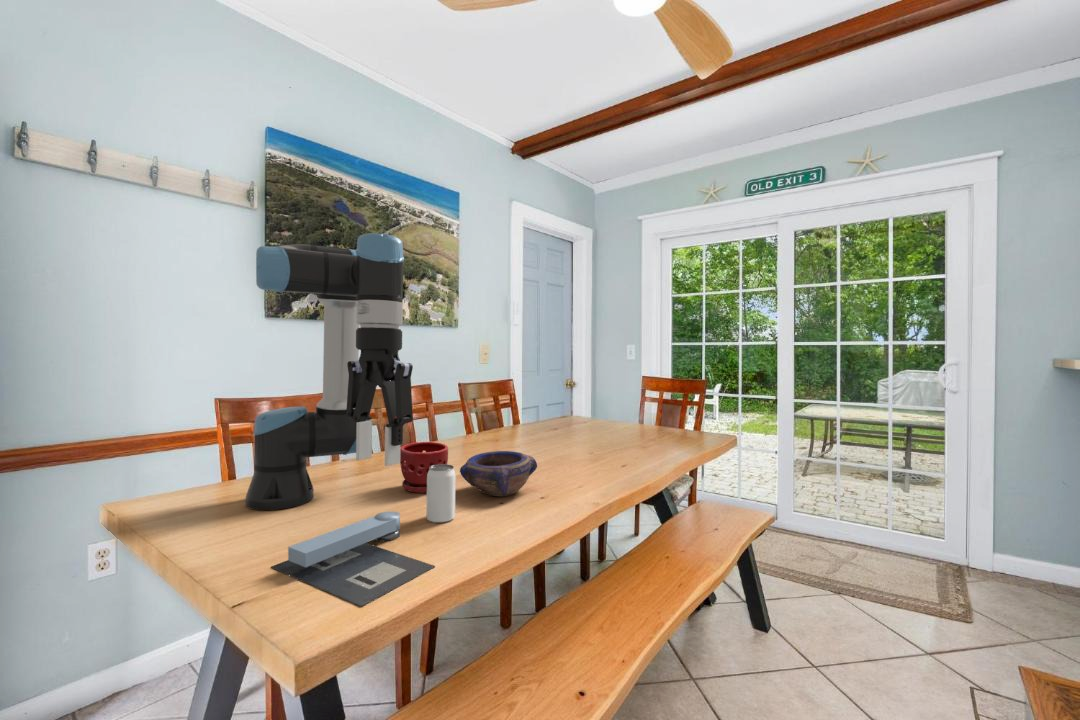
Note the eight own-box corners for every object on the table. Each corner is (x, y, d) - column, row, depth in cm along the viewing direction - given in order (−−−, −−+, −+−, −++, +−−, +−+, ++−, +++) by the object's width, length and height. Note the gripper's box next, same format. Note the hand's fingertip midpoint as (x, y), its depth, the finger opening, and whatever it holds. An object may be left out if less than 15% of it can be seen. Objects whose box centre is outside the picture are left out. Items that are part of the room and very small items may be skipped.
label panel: (271, 567, 85) (271, 566, 85) (348, 537, 99) (348, 536, 99) (361, 607, 73) (361, 605, 73) (434, 567, 87) (434, 565, 87)
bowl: (451, 494, 130) (451, 457, 130) (494, 479, 145) (494, 446, 145) (502, 507, 120) (503, 467, 120) (543, 490, 135) (543, 455, 134)
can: (448, 524, 107) (449, 471, 107) (421, 522, 109) (422, 469, 108) (459, 515, 114) (459, 464, 113) (433, 512, 115) (434, 463, 115)
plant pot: (389, 489, 133) (390, 446, 133) (428, 479, 144) (429, 439, 143) (418, 499, 125) (419, 453, 125) (457, 488, 135) (458, 446, 135)
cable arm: (288, 561, 84) (288, 545, 84) (388, 522, 104) (388, 509, 104) (305, 568, 82) (305, 552, 82) (405, 527, 101) (405, 514, 101)
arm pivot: (369, 537, 99) (369, 531, 99) (388, 530, 104) (388, 524, 104) (386, 543, 97) (386, 537, 97) (404, 535, 101) (404, 529, 101)
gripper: (324, 326, 84) (322, 457, 84) (403, 325, 74) (401, 474, 74) (359, 328, 90) (358, 450, 91) (437, 327, 80) (435, 465, 81)
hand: (378, 461), depth 82 cm, fingers open, 6 cm apart
